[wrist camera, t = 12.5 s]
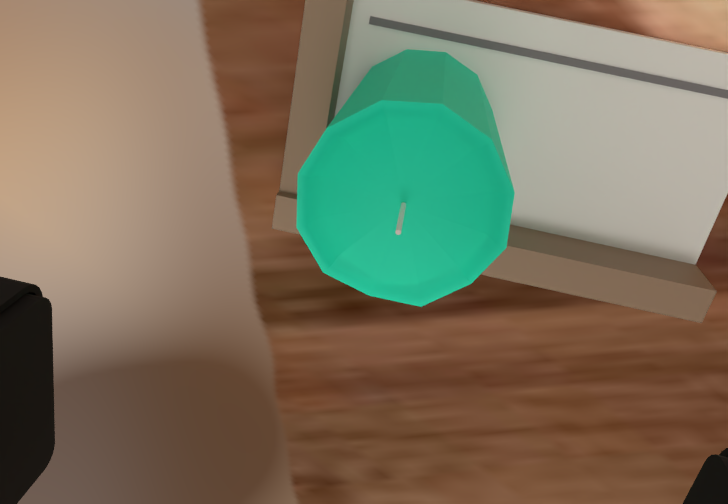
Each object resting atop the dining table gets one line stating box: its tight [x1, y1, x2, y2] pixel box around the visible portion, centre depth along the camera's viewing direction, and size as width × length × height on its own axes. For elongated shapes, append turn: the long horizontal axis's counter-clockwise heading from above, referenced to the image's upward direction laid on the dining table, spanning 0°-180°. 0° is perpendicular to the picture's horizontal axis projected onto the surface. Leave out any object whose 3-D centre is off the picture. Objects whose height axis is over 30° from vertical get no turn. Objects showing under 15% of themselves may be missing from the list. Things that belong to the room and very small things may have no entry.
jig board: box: [272, 0, 728, 323], centre depth 27 cm, size 18×10×4 cm, turn 80°
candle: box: [296, 49, 515, 307], centre depth 22 cm, size 6×6×12 cm
